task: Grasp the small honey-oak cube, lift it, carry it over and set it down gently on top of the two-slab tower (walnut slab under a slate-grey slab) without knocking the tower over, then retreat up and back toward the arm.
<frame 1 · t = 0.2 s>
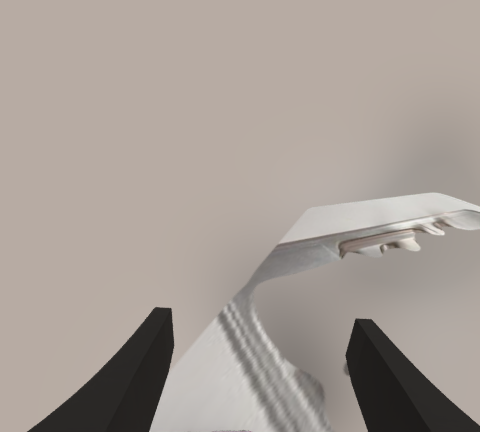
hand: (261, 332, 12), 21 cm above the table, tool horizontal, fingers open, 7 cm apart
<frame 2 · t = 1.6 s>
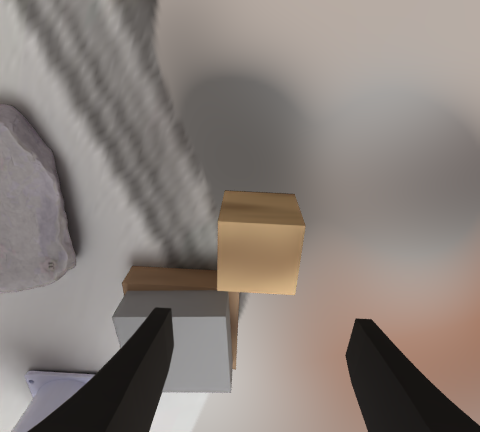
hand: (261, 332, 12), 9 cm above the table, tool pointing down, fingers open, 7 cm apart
bottom slab: (189, 305, 24), on the table, touching top slab
stone block: (13, 195, 21), on the table
oak cube: (257, 222, 21), on the table
top slab: (183, 328, 22), point 2 cm above the table, touching bottom slab
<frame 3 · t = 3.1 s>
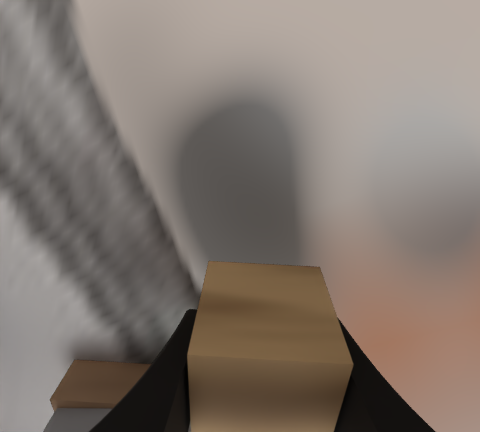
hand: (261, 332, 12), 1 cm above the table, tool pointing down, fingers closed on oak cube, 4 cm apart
bottom slab: (162, 405, 17), on the table, touching top slab
oak cube: (260, 306, 13), on the table, touching gripper
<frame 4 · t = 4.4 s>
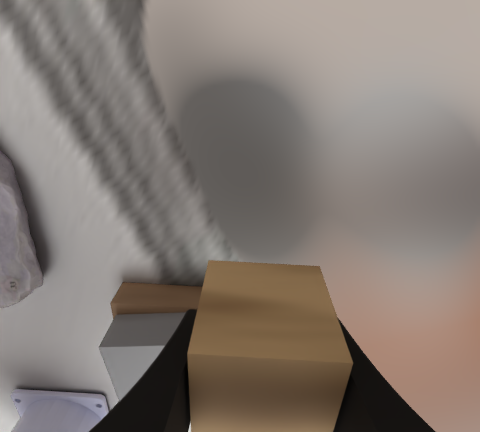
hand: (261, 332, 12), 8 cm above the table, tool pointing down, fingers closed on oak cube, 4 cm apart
bottom slab: (184, 323, 23), on the table, touching top slab
oak cube: (260, 306, 13), point 6 cm above the table, touching gripper
top slab: (179, 351, 20), point 2 cm above the table, touching bottom slab
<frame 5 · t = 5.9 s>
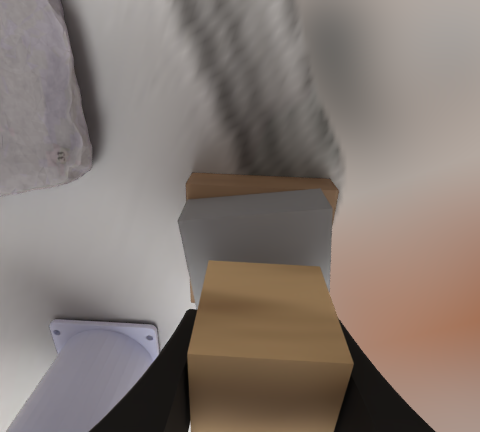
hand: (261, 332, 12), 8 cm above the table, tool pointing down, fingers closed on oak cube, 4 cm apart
bottom slab: (256, 231, 20), on the table, touching top slab
stone block: (11, 76, 16), on the table
oak cube: (260, 306, 13), point 7 cm above the table, touching gripper
top slab: (258, 250, 17), point 2 cm above the table, touching bottom slab
when the fingers open (7 cm above the table, at t = 6.5 s): oak cube drops 2 cm, resting on top slab.
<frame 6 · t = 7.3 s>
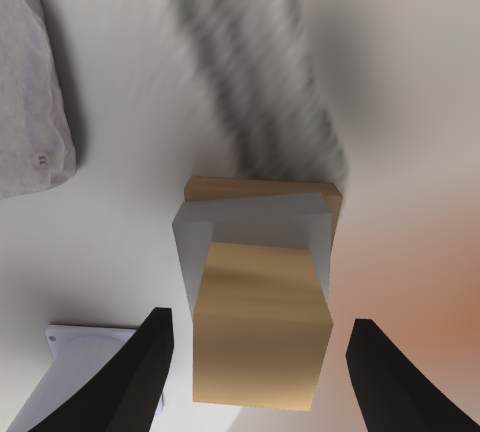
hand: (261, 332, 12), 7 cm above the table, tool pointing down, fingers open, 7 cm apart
bottom slab: (257, 236, 19), on the table, touching top slab
oak cube: (255, 285, 15), point 4 cm above the table, touching top slab
top slab: (255, 254, 17), point 2 cm above the table, touching bottom slab, oak cube
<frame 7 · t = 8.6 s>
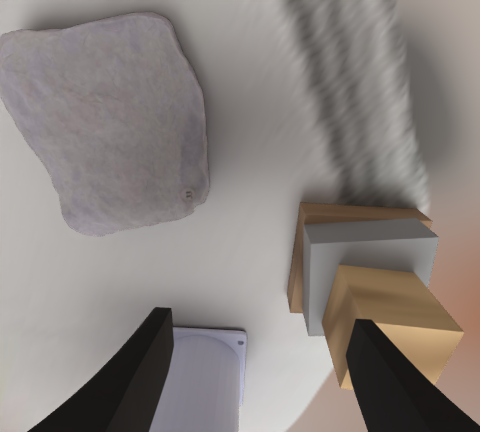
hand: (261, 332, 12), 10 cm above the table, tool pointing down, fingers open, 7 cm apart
bottom slab: (344, 251, 23), on the table
stone block: (137, 127, 19), on the table
oak cube: (365, 299, 18), point 4 cm above the table, touching top slab
top slab: (354, 267, 21), point 2 cm above the table, touching oak cube
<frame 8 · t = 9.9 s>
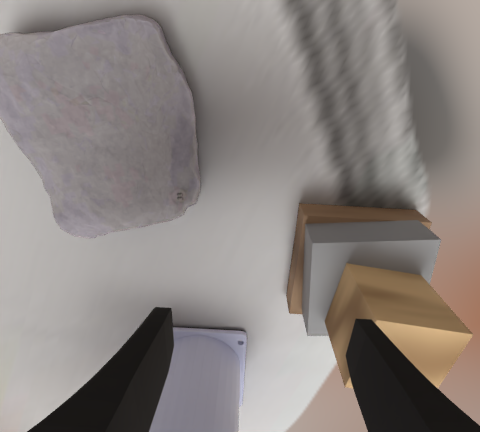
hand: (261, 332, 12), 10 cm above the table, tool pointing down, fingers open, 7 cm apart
bottom slab: (344, 252, 23), on the table, touching top slab
stone block: (129, 129, 20), on the table
oak cube: (370, 299, 18), point 4 cm above the table, touching top slab
top slab: (355, 268, 20), point 2 cm above the table, touching bottom slab, oak cube
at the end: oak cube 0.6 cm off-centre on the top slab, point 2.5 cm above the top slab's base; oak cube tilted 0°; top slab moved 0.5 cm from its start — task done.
